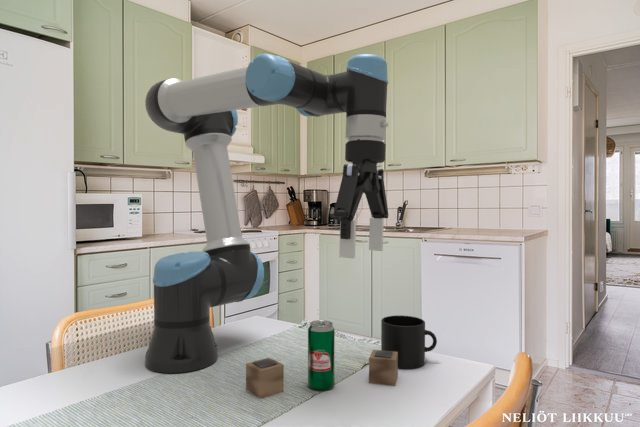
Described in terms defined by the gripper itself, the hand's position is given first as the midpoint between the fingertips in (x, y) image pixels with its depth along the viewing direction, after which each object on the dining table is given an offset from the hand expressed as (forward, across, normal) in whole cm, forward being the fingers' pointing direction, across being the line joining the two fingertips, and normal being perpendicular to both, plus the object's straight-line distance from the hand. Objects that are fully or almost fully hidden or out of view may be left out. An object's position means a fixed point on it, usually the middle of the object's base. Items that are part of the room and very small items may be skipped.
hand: (362, 254), depth 83 cm
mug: (+25, +16, -5) cm, 30 cm away
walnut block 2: (+25, +4, -3) cm, 26 cm away
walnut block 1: (+26, -11, +14) cm, 31 cm away
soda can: (+25, -4, +6) cm, 26 cm away
